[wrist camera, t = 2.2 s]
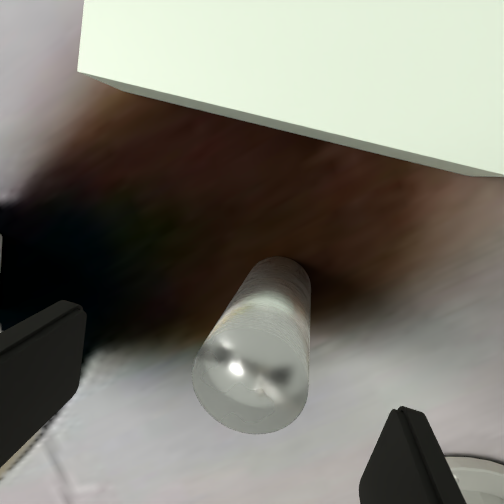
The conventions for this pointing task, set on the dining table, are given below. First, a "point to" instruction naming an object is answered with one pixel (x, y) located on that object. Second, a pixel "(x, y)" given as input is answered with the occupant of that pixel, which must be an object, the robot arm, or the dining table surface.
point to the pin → (259, 351)
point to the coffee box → (0, 249)
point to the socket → (320, 69)
